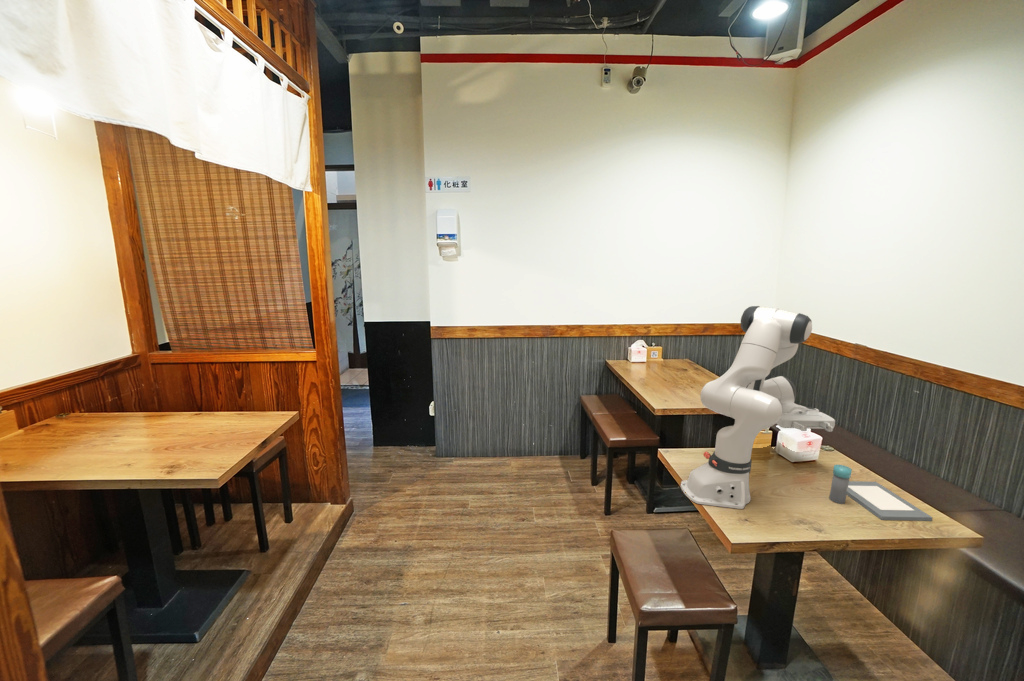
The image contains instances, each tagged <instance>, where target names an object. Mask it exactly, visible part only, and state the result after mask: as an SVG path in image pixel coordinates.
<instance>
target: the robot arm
mask: <svg viewBox="0 0 1024 681" xmlns="http://www.w3.org/2000/svg"><path fill="white" fill-rule="evenodd" d="M740 328H741V329H742V331H743V332H744V333H745V334H744V336H743V338H742V340H741V343H740V346H739V349H738V351H737V352H736V356H735V357H734V360H733V362H732V364H731V366H730V367H729V368H728V370H727V371H726V372H724V374H722V375H721V376H720V377H717V378H716V379H713V380H711V381H708V382H707V383H705V384H704V385H703V387H702V388H701V391H700V402H701V404H702V405H703V407H705V408H706V409H708V410H711V411H712V412H714V413H717V414H719V415H723V416H726V417H730V418H732V419H734V424H733V425H728V426H725V427H722V428H720V429H719V430H718V431H717V433H716V439H715V447H714V451H713V452H712V454H710V453H709V451H704V452H703V457H705V459H707V460H708V461H707V462H706V463H703V464H702V465H700V466H698V467H696V468H694V469H692V470H691V471H690V473H689V476H688V478H687V479H685V480H681V482H680V489H681V492H683V494H684V495H685V496H686V497H687V498H688V499H689V500H690V501H692V502H693V503H695V504H698V505H705V506H714V507H722V508H731V509H738V510H743V509H745V507H746V505H747V504H749V503H750V502H751V500H752V497H751V493H750V473H751V470H752V462H753V460H752V459H751V457H752V451H753V446H754V442H755V440H756V437H758V435H759V434H760V433H761V432H762V431H763V430H764V429H767V428H771V427H773V426H774V425H778V427H780V428H783V429H797V430H799V431H802V432H806V431H808V430H807V429H809V430H810V429H814V430H815V429H817V430H818V429H819V430H822V429H823V430H824V431H826V432H831V433H832V432H833V431H834V428H835V426H836V420H835V418H833V417H832V416H830V415H828V414H826V413H824V412H822V411H820V409H819V408H814V407H810V406H804V405H800V404H797V403H795V402H796V398H797V388H796V385H795V384H794V383H793V381H791V380H790V379H789V378H788V377H786V376H783V375H779V376H776V377H771V378H769V379H766V377H768V376H769V375H770V374H771V372H772V369H774V368H776V367H778V366H779V365H781V364H783V363H786V362H787V361H789V360H791V359H792V358H793V357H794V356H795V355H796V354H797V351H798V349H799V344H802V343H805V342H807V340H808V338H809V337H810V336H811V334H812V330H813V323H812V319H811V318H810V317H809V316H808V315H807V314H806V315H805V314H803V313H801V312H799V313H797V312H793V311H789V310H784V309H780V308H774V307H766V306H764V307H762V306H759V305H754V306H753V305H751V306H748V307H747V308H745V309H744V311H743V312H742V315H741V318H740ZM685 492H686V493H685Z"/></svg>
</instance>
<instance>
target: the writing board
mask: <svg viewBox="0 0 1024 681" xmlns="http://www.w3.org/2000/svg"><path fill="white" fill-rule="evenodd" d="M846 496H848V497H849V498H850V499H852V500H853V501H855V502H856V503H858V504H859V505H860V506H861V507H863V508H865V509H866V510H867V511H868V512H870V513H872V515H874V516H875V517H877V518H878V519H879V520H880V521H916V522H917V521H918V522H920V521H921V522H925V521H926V522H931V521H933V518H934V517H933V516H931V515H929V514H928V513H927V512H925V511H923V510H922V509H920V508H919V507H917V506H915V505H914V504H912V503H911V502H909V501H907V500H905V499H904V498H902V496H900V495H898V494H897V493H895V492H893V491H892V490H890V489H888V488H886V487H885V486H883V485H882V484H880V483H879V482H877V481H858V480H857V481H856V480H853V481H852V480H851V481H850V480H849V484H848V490H847V495H846Z"/></svg>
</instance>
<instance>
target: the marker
mask: <svg viewBox="0 0 1024 681" xmlns="http://www.w3.org/2000/svg"><path fill="white" fill-rule="evenodd" d="M852 471H853V470H852V468H851V467H849V466H847V465H843V464H834V465H833V471H832V478H831V486H830V492H829V500H830V501H831V502H833V503H836V504H839V505H843V504H845V503H846V499H847V496H848V495H847V490H848V484H849V481H850V478H851V477H852Z"/></svg>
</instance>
